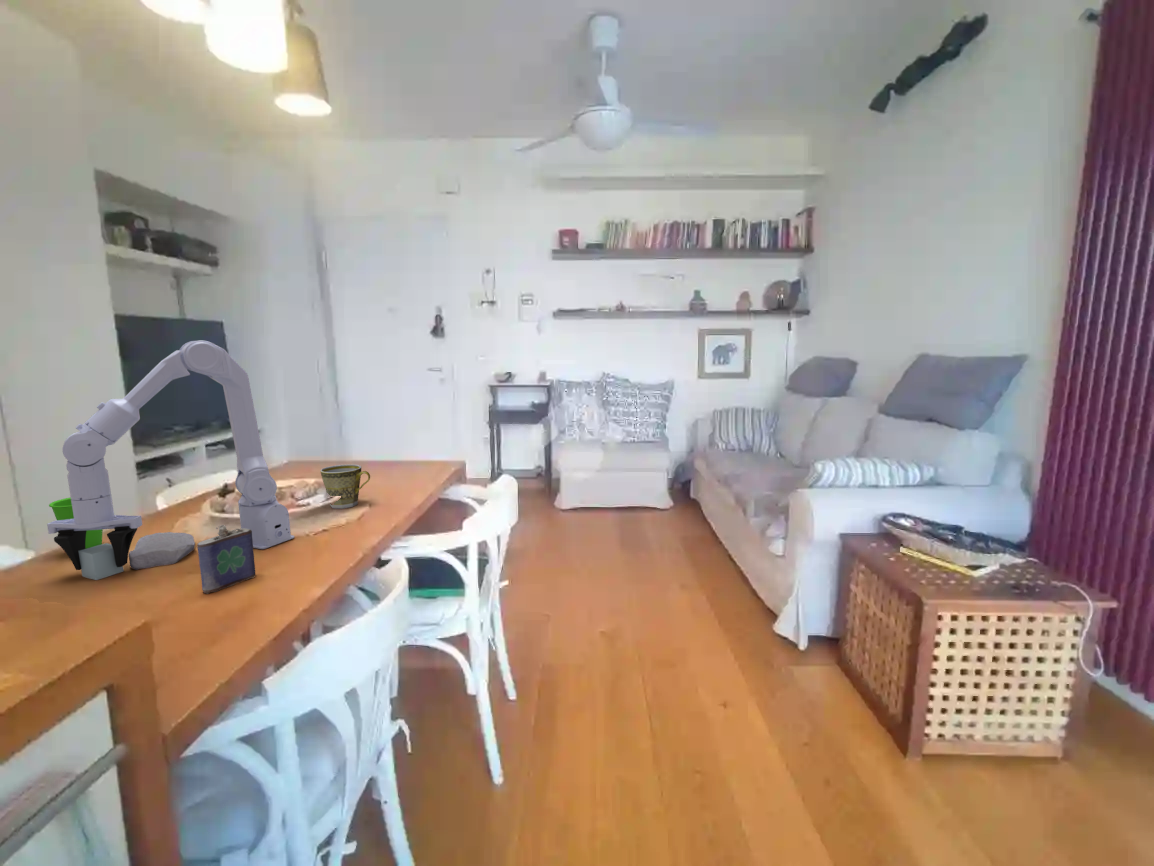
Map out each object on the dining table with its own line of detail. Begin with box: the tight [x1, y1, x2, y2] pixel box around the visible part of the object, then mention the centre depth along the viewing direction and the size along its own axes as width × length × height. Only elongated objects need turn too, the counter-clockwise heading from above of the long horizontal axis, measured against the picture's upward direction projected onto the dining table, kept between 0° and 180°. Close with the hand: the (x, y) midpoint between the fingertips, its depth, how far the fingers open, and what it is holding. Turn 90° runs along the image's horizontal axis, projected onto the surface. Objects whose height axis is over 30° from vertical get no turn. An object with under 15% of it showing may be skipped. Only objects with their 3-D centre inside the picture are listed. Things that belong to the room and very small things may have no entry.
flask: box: [196, 524, 257, 594], centre depth 102 cm, size 9×3×11 cm, turn 151°
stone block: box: [128, 531, 196, 571], centre depth 117 cm, size 12×5×10 cm
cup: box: [48, 497, 104, 549], centre depth 120 cm, size 9×9×11 cm
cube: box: [78, 542, 125, 581], centre depth 108 cm, size 4×4×5 cm
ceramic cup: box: [320, 463, 371, 510], centre depth 152 cm, size 13×10×10 cm
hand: (102, 566), depth 108 cm, fingers closed on cube, 6 cm apart
